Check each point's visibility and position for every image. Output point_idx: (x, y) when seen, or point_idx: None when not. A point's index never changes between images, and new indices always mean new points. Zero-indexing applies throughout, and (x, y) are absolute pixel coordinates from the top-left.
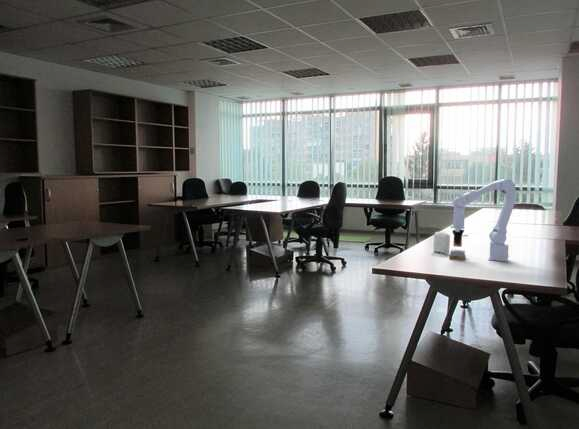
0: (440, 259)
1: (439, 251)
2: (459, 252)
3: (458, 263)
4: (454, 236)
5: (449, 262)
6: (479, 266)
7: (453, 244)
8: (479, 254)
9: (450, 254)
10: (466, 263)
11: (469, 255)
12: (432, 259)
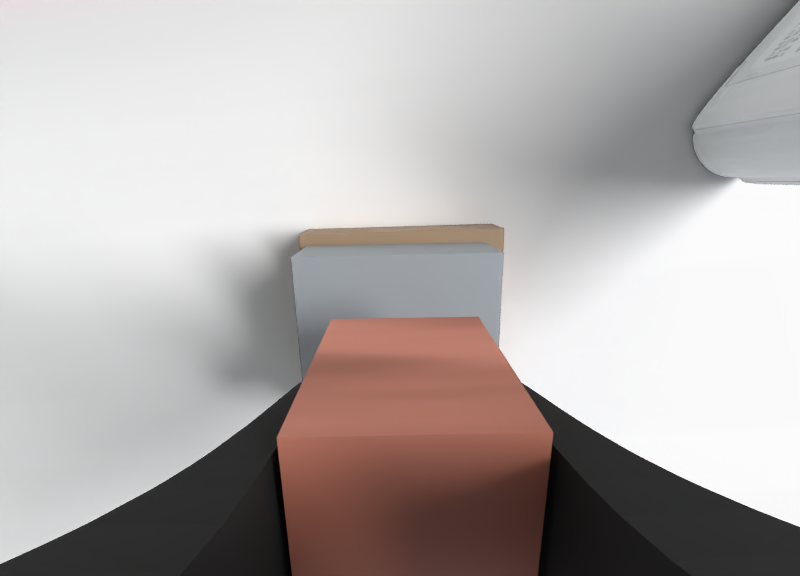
0: (220, 123)
1: (774, 33)
2: (303, 379)
3: (89, 349)
4: (148, 500)
5: (82, 253)
6: (68, 525)
7: (325, 332)
8: (762, 492)
9: (304, 249)
10: (146, 419)
11: (665, 412)
12: (152, 10)
